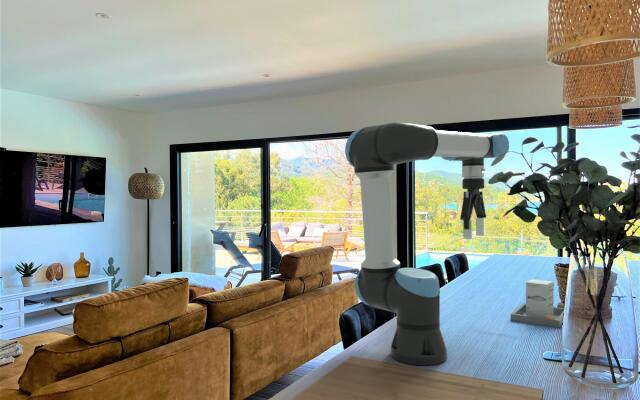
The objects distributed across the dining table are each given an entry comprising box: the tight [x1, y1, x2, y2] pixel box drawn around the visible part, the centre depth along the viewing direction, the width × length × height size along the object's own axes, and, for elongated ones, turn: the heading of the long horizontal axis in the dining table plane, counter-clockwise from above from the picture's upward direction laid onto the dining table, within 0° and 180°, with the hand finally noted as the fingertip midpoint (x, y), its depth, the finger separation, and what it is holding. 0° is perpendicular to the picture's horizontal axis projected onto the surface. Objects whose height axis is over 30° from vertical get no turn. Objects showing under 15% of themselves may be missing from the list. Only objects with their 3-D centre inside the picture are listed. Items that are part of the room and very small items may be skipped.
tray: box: [510, 303, 564, 328], centre depth 158 cm, size 18×15×3 cm
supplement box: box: [525, 278, 555, 318], centre depth 158 cm, size 7×7×13 cm
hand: (473, 237), depth 163 cm, fingers open, 13 cm apart
